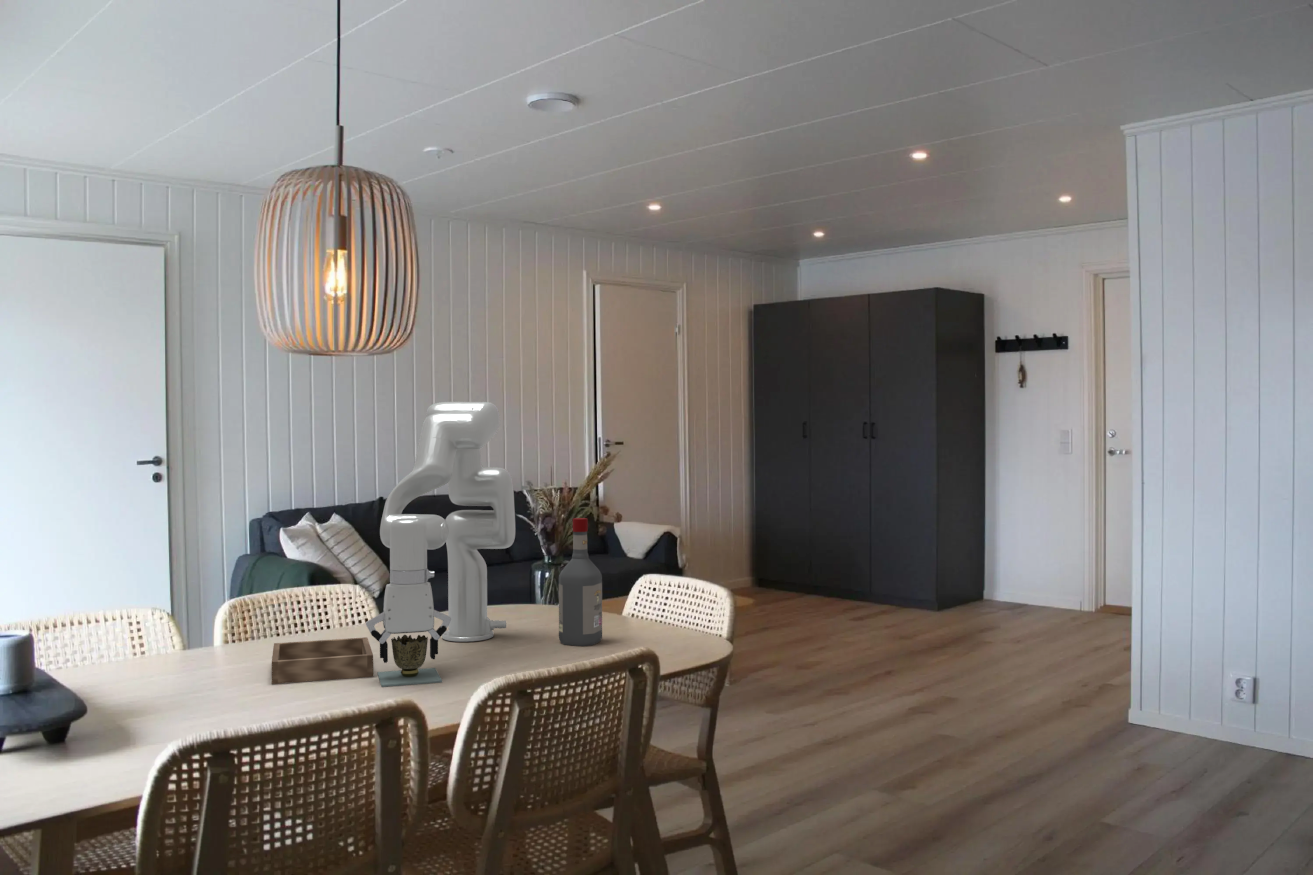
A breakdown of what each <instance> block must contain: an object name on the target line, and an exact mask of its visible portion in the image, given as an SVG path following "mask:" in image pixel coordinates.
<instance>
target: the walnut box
mask: <svg viewBox="0 0 1313 875" xmlns="http://www.w3.org/2000/svg"><path fill="white" fill-rule="evenodd" d="M373 653H374V652H373V650H372V648H371V644H370V641H369V638H368V637H350V638H338V639H337V638H336V639H322V640H320V639H319V640H307V641H305V640H304V641H303V640H302V641H289V642H286V641H285V642H273V648H272V656H271V685H278V684H292V683H303V682H317V681H331V680H344V679H358V678H369V677H370V678H371V677H374V654H373Z"/></svg>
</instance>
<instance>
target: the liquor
mask: <svg viewBox="0 0 1313 875" xmlns="http://www.w3.org/2000/svg"><path fill="white" fill-rule="evenodd" d="M588 522H589V519H588V518H586V517H585V518H584V517H577V518H576V517H575V518H572V533H573V534H572V536H573V537H572V538H573V540H572V543H573V544H572V547H573V549H572V555H571V559H570V560H569V561H568V562H567V564H566V565H565V566H564V567H563V569H562V570H561V571H560V572H559V576H558V640H559V642H560V643H561V645H562V644H563V645H564V646H576V647H587V646H594V645H596V644H599V643H600V642H601V641H602V639H603V575H602V572H601V570H600V569H599V568H598V567H597V566H596V565H595V563H594V562H593V561H592V560H591V558H589V557H590V556H589V553H588V531H589V530H588V529H589V528H588V527H589V523H588ZM599 641H600V642H599Z"/></svg>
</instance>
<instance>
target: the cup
mask: <svg viewBox="0 0 1313 875" xmlns="http://www.w3.org/2000/svg"><path fill="white" fill-rule="evenodd" d="M428 640H429V637H428V636H426V635H424V634H423V635H422V636H421V634H418V635H417V636H416V637H412V635H411V634H409V635H406V634H403V635H402V636H401V637H400V635H398V636H397V638H396V637H395V636H393V637H392V638H391V648H392V656H393V661H394V663H395V665H396V666H397V667H398V669H401V674H402V676H404V677H414V676H417V675H418V673H419V670H418V669H420V668H421V667H422V666H423V665H424V664H425V661H426V656H427V649H428Z"/></svg>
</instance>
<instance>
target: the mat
mask: <svg viewBox="0 0 1313 875" xmlns="http://www.w3.org/2000/svg"><path fill="white" fill-rule="evenodd" d="M401 670H402V669H401ZM401 670H390V671H388V670H387V671H377V676H378V680H379V683H380V685H381V688H384V687H385V688H386V687H399V686H411V685H412V686H413V685H422V684H424V685H425V684H435V683H437V684H438V683H443V680H442V679H443V678H441V676H440V674H439V672H438V671H437V669H436V667H430V668H429V667H426V668H418V670H419V673H418V675H417V676H414V677H404V676H402V674H401Z"/></svg>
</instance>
